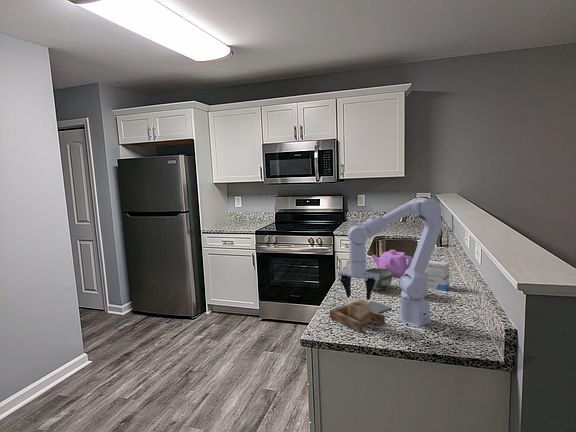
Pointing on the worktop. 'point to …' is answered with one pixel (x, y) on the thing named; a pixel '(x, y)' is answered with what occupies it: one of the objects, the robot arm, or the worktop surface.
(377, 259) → the teakettle
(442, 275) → the ink box
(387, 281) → the bowl
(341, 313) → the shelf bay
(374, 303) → the mat
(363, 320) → the gripped blank
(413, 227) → the worktop surface
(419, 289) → the robot arm
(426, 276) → the small box
